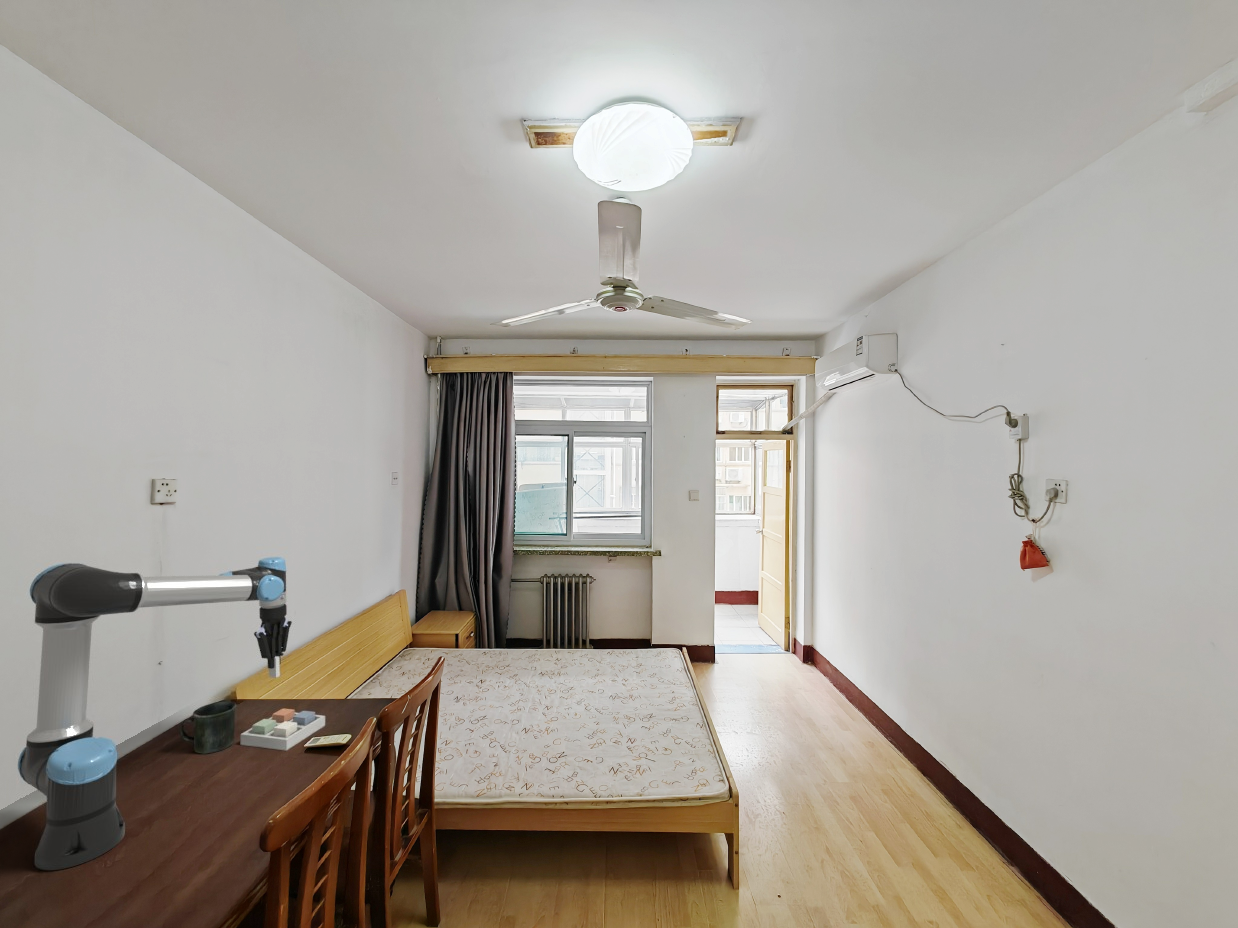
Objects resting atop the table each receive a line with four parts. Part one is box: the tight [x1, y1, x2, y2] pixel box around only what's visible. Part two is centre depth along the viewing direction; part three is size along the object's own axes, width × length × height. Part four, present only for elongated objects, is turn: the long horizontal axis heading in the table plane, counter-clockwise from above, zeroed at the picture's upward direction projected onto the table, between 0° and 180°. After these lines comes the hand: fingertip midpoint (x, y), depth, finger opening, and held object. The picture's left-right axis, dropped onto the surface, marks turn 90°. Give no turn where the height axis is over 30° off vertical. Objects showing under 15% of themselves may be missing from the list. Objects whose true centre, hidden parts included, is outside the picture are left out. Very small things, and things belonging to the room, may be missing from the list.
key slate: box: [293, 710, 316, 725], centre depth 187 cm, size 5×5×3 cm
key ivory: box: [274, 721, 297, 737], centre depth 179 cm, size 5×5×3 cm
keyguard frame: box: [240, 712, 326, 752], centre depth 183 cm, size 17×17×3 cm
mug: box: [179, 701, 237, 755], centre depth 175 cm, size 11×15×12 cm
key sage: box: [251, 718, 276, 734], centre depth 180 cm, size 5×5×3 cm
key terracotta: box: [271, 707, 296, 723], centre depth 188 cm, size 5×5×3 cm
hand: (274, 676), depth 181 cm, fingers closed
